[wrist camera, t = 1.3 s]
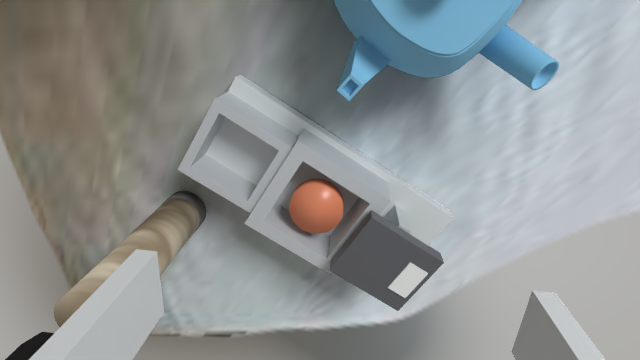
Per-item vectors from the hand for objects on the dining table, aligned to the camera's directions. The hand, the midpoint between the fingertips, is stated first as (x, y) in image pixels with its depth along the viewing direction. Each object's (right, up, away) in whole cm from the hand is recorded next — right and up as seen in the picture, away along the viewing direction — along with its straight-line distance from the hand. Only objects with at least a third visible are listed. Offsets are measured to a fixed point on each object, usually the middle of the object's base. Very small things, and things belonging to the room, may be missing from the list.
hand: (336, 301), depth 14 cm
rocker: (+5, -2, +18) cm, 19 cm away
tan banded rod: (-14, +1, +26) cm, 29 cm away
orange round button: (-1, +2, +20) cm, 20 cm away
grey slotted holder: (0, +4, +23) cm, 24 cm away
